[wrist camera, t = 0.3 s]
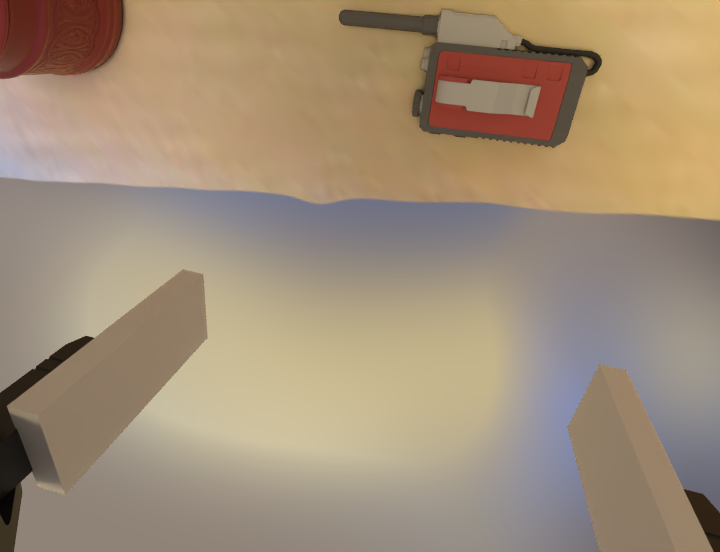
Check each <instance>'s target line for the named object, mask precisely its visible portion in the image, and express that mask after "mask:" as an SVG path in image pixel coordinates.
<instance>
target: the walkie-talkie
mask: <svg viewBox="0 0 720 552" xmlns="http://www.w3.org/2000/svg"><path fill="white" fill-rule="evenodd" d="M339 21H340V22H341V24H343V25H350V26H361V27H371V28H382V29H393V30H404V31H414V32H422V34H425V35H435V36H438V40H437V43H436V44H434V45H432V46H431V47H430V48H425V51H424V58H422V63H421V70H426V72H427V76H426V83H425V90H424V94H423V91H422V90H416V92H415V96H414V101H413V110H412V115H413V116H414V117H418V116H419V115H420V114H421V117H420V126H419V127H420V128H421V129H422V130H423V131H426V132H429V133H433V134H449V135H454V136H456V137H464V138H465V137H473V138H478V137H482V139H485V138H489V140H491V139H496V140H497V141H498V140H503V141H504V142H505V141H510V142H513V141H514V142H517V143H520V142H521V143H524V144H527V143H529V144H531V145H534V144H537V145H538V146H541V145H544V146H545V147H548V146H552V148H554V147H556V146H557V145H559V144H561V143H563V142H565V140H566V138H567V136H568V133H569V130H570V126H571V123H572V120H573V116H574V113H575V110H576V107H577V103H578V100H579V97H580V94H581V90H582V87H583V84H584V81H585V77H586V76H590V75H593V74H595V73H596V72H597V71H598V70H599V68H600V66H601V64H602V59H601V57H600V56H599V55H598V54H597V53H594V52H592V51H582V50H571V49H561V48H550V47H542V46H535V45H533V44H531V43H530V42H529V41H527V40H524V39H522V36H515V35H511V34H510V32H509V31H508V30H507V29H506V28H505V27H504V26H503V24H502V23H501V22H500V21H499V20H498V19H497V18H496V17H495V16H491V15H480V14H470V13H459V12H454V11H453V10H452V9H442V13H441V16H433V15H425V16H424V17H420V16H409V15H397V14H386V13H375V12H363V11H352V10H343V11H341V12H340V14H339ZM520 45H524V46H525V47H526V48H527V49H529V50H532V51H535V52H530V51H528V53H527V51H521V52H519V50H515V46H520ZM497 48H498V49H499V50H497ZM504 49H507V50H504ZM512 50H514V51H512ZM550 53H553V54H550ZM562 54H563V55H562ZM581 56H584V57H589V58H592V59H593V60H594V61H595V64H594V66H593V68H592V69H591V70H587V69H588V66H587V65H586V64H585V62H584V61H583V59H582V58H581Z"/></svg>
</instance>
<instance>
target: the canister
mask: <svg viewBox="0 0 720 552" xmlns="http://www.w3.org/2000/svg"><path fill="white" fill-rule="evenodd" d="M121 26H122V5H121V0H0V79H9V78H14V77H18V76H20V75H36V74H54V75H76V74H81V73H84V72H87V71H89V70H91V69H94V68H96V67H98V66H100V65H102V64H103V63H104V62H105V61H106V60H107V59H108V58H109V57H110V56H111V54H112V53H113V51H114V50H115V48H116V45H117V43H118V40H119V37H120V32H121Z"/></svg>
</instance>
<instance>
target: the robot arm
mask: <svg viewBox="0 0 720 552" xmlns="http://www.w3.org/2000/svg"><path fill="white" fill-rule="evenodd" d="M206 339H207V325H206V309H205V294H204V279H203V274H200V273H196V272H191V271H187V270H182V271H181V272H179V273H178V274H177V275H175V276H174V277H173V278H171V279H170V280H169V281H167V282H166V283H165V284H164V285H163V286H161V287H160V288H158V289H157V290H156V291H155V292H153V293H152V294H151V295H150V296H148V297H147V298H146V299H144V300H143V301H142V302H140V303H139V304H138V305H137V306H135V307H134V308H133V309H131V310H130V311H129V312H128V313H126V314H125V315H124V316H122V317H121V318H120V319H118V320H117V321H116V322H115V323H113V324H112V325H111V326H109V327H108V328H107V329H106V330H104V331H103V332H102V333H100V334H99V335H98V336H97V337H95V338H92V337H89V336H85V337H82V338H80V339H78V340H75V341H73V342H71V343H68V344H66V345H65V346H63V347H62V348H61V349H59V350H58V351H57V352H55V353H54V354H52V355H51V356H50V357H49V359H46V360H44V361H43V362H42V363H40V364H39V365H37V366H36V369H32V370H31V371H29V372H28V373H27V374H25V375H24V376H22V377H21V378H20V379H18V380H17V381H16V382H14V383H13V384H12V385H11V386H9V387H8V388H6V389H5V390H4V391H2V392H1V393H0V552H14V546H15V539H16V532H17V525H18V518H19V511H20V504H21V498H22V487H21V483H20V482H21V481H22V480H23V479H24V478H25V477H26V476H27V475H28V474H29V473H30V472H31V471H32V472H33V475H34V477H35V480H36V483H37V485H38V487H42V488H45V489H48V490H51V491H54V492H57V493H60V494H64V495H65V494H67V492H68V491H69V490H70V489H71V488H72V487H73V486H74V485H75V484H76V482H77V481H78V480H79V479H80V478H81V477H82V476H83V475H84V473H86V471H87V470H88V469H89V468H90V467H91V466H92V465H93V464H94V463H95V461H96V460H97V459H98V458H99V457H100V456H101V455H102V454H103V453H104V452H105V450H106V449H107V448H108V447H109V446H110V445H111V444H112V443H113V442H114V440H115V439H116V438H117V437H118V436H119V435H120V434H121V433H122V432H123V430H124V429H125V428H126V427H127V426H128V425H129V424H130V423H131V422H132V421H133V419H134V418H135V417H136V416H137V415H138V414H139V413H140V412H141V410H142V409H143V408H144V407H145V406H146V405H147V404H148V403H149V402H150V401H151V399H152V398H153V397H154V396H155V395H156V394H157V393H158V392H159V391H160V390H161V388H162V387H163V386H164V385H165V384H166V383H167V382H168V381H169V380H170V378H171V377H172V376H173V375H174V374H175V373H176V372H177V371H178V369H180V367H181V366H182V365H183V364H184V363H185V362H186V361H187V360H188V359H189V357H190V356H191V355H192V354H193V353H194V352H195V351H196V349H198V347H199V346H200V345H201V344H202V343H203V342H204V341H205V340H206ZM568 430H569V434H570V438H571V442H572V446H573V450H574V454H575V458H576V462H577V465H578V470H579V473H580V477H581V481H582V485H583V489H584V493H585V497H586V501H587V504H588V508H589V512H590V516H591V520H592V524H593V528H594V532H595V535H596V540H597V544H598V548H599V551H600V552H720V513H719V512H718V510H717V509H716V508H715V507H714V506H713V505H712V504H711V503H710V501H709V500H708V499H707V498H706V497H705V496H704V495H703V494H700V493H697V492H693V491H689V490H685V489H683V487H682V485H681V483H680V481H679V479H678V477H677V475H676V473H675V471H674V469H673V467H672V465H671V462H670V460H669V458H668V456H667V455H666V452H665V450H664V448H663V446H662V444H661V442H660V440H659V438H658V435H657V433H656V431H655V429H654V427H653V425H652V423H651V421H650V419H649V417H648V415H647V413H646V410H645V409H644V406H643V404H642V402H641V400H640V398H639V396H638V394H637V392H636V390H635V388H634V386H633V384H632V382H631V379H630V377H629V375H628V373H627V371H626V370H622V369H618V368H613V367H609V366H605V365H601V364H600V365H599V366H598V368H597V370H596V372H595V374H594V376H593V378H592V380H591V382H590V384H589V386H588V388H587V390H586V392H585V394H584V396H583V398H582V400H581V402H580V404H579V406H578V408H577V410H576V412H575V414H574V416H573V418H572V420H571V421H570V424H569V425H568Z"/></svg>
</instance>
